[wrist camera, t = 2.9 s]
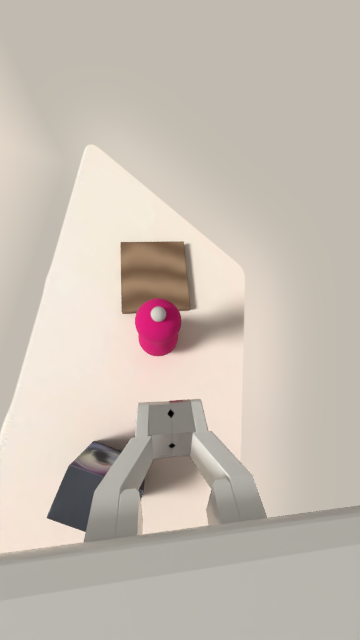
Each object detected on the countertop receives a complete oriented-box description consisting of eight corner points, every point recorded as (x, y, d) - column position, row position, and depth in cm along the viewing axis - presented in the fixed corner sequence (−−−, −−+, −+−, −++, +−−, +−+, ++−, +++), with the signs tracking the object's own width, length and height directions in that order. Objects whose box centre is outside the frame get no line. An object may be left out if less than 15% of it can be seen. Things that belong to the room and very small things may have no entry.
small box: (149, 457, 37) (145, 489, 27) (135, 499, 35) (126, 550, 25) (93, 438, 37) (68, 463, 27) (76, 479, 35) (43, 522, 25)
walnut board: (189, 310, 45) (190, 308, 43) (123, 313, 43) (121, 311, 41) (182, 245, 48) (183, 241, 47) (121, 246, 47) (120, 242, 45)
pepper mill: (181, 332, 43) (200, 299, 24) (166, 364, 41) (172, 355, 22) (151, 317, 43) (145, 272, 24) (133, 347, 41) (112, 325, 22)
